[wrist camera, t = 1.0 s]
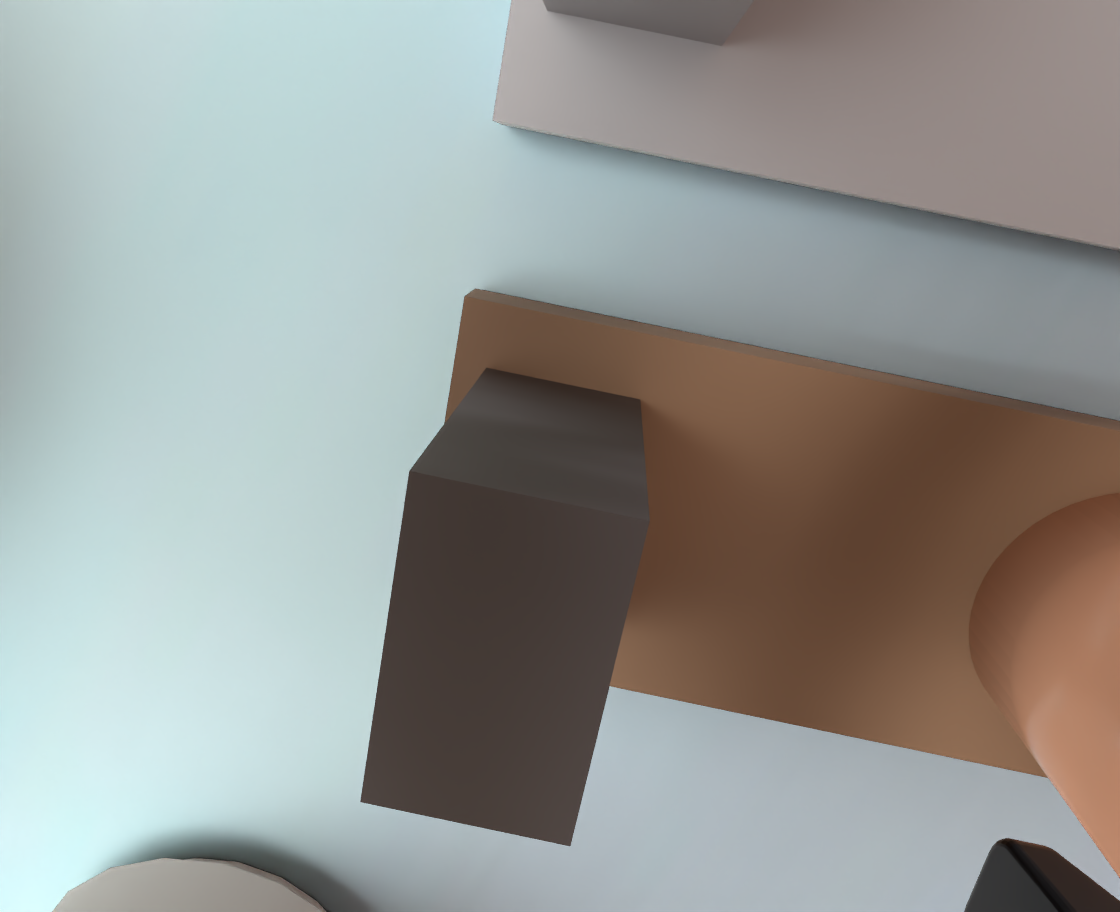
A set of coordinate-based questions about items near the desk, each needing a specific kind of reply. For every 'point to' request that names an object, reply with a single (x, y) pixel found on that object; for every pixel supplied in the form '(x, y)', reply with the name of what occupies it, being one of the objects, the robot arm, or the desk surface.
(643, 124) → the grey strip
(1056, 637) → the peach rounded knob
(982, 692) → the walnut strip
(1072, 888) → the robot arm
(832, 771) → the desk surface
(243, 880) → the can
